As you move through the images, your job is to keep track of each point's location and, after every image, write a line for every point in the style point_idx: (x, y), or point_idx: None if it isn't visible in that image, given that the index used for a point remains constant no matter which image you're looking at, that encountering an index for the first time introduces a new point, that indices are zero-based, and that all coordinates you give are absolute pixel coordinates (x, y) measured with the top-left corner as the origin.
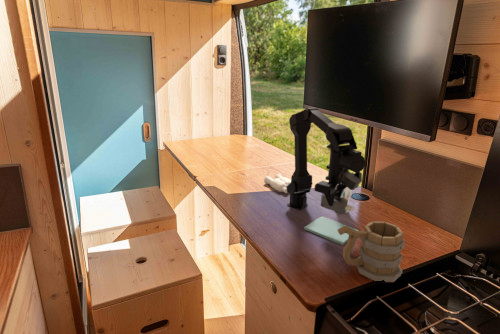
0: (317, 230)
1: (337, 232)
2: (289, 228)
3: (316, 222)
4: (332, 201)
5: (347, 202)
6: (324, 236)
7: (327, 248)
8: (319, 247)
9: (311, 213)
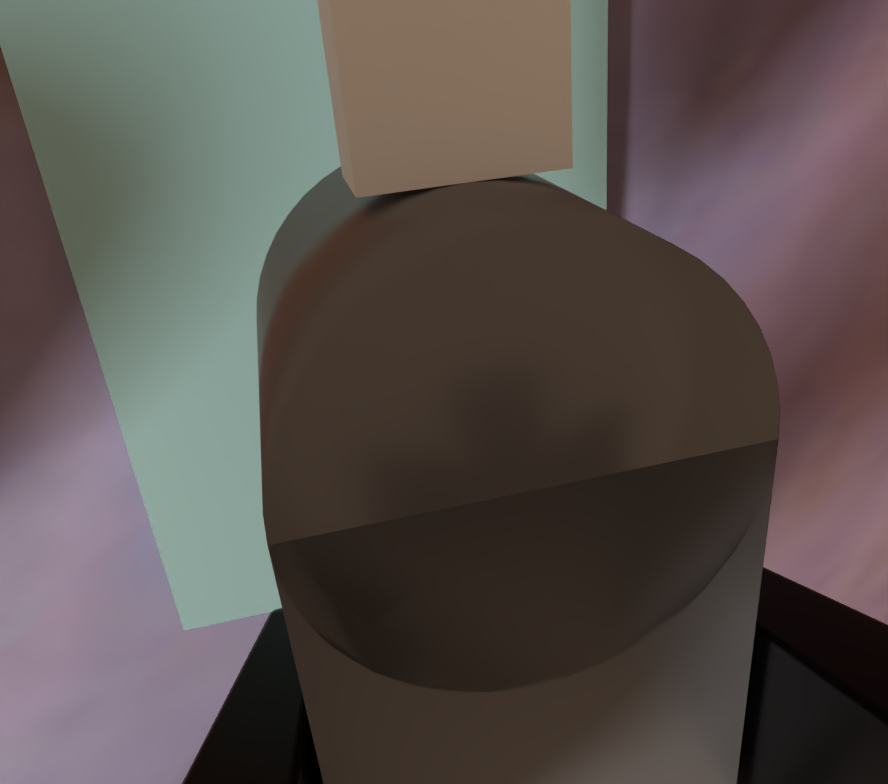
0: None
1: None
2: None
3: None
4: (830, 605)
5: (440, 233)
6: None
7: (795, 19)
8: (832, 114)
9: (198, 745)
